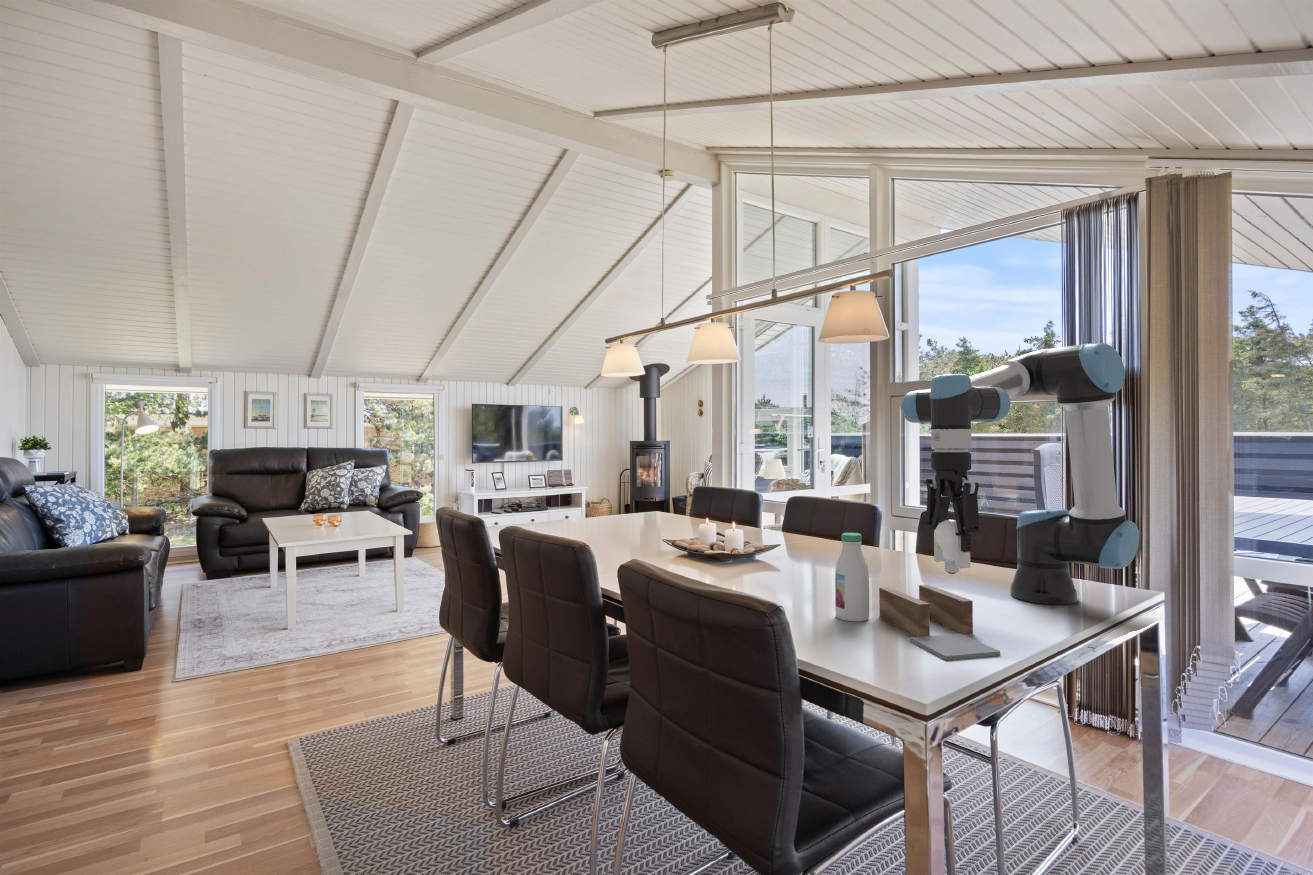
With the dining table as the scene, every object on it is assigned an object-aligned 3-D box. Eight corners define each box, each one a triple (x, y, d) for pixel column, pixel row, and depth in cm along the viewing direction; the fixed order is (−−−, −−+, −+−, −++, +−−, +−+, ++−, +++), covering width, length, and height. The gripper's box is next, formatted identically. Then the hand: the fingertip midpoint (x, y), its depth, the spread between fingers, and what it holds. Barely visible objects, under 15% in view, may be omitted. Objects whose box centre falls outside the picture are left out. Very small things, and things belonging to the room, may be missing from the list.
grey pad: (960, 636, 141) (960, 633, 141) (1000, 655, 130) (1000, 651, 130) (909, 641, 139) (909, 637, 139) (945, 660, 127) (945, 656, 127)
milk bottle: (871, 615, 159) (870, 532, 159) (867, 623, 152) (866, 536, 152) (838, 612, 162) (837, 530, 162) (832, 620, 155) (832, 535, 155)
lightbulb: (972, 577, 131) (972, 522, 131) (938, 576, 132) (938, 521, 132) (964, 570, 137) (964, 517, 137) (931, 569, 138) (931, 517, 138)
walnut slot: (928, 613, 160) (928, 584, 160) (972, 632, 144) (972, 600, 144) (879, 616, 157) (879, 587, 157) (919, 637, 142) (918, 604, 142)
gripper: (907, 450, 143) (908, 556, 143) (965, 452, 124) (966, 575, 124) (938, 449, 145) (939, 555, 145) (1000, 451, 126) (1001, 573, 126)
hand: (951, 564), depth 134 cm, fingers closed on lightbulb, 6 cm apart
